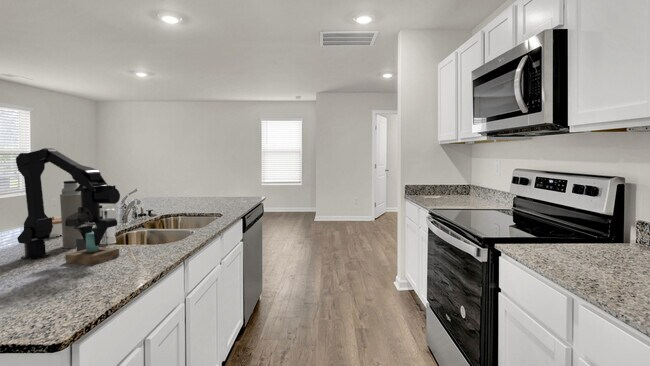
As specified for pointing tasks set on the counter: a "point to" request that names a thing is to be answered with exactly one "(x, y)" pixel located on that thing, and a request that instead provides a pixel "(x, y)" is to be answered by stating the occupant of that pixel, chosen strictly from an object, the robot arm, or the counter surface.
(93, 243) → the peg
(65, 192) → the thermos bottle
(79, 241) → the black dowel
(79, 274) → the counter surface
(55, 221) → the lidded jar
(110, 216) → the beer glass
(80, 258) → the socket block
